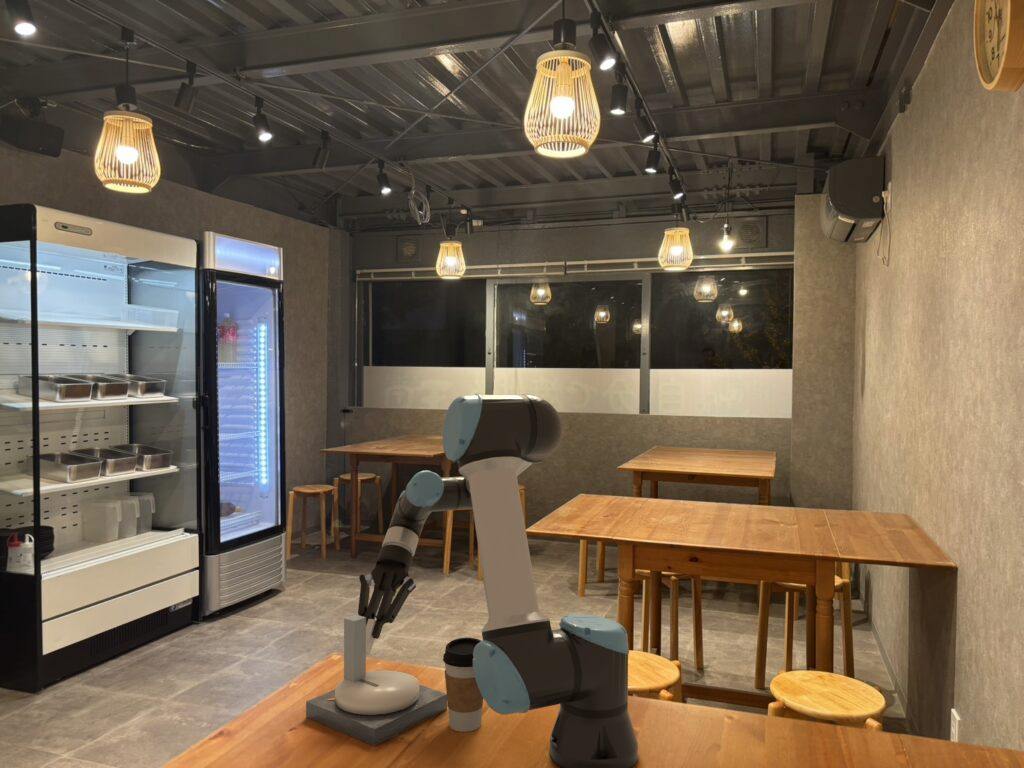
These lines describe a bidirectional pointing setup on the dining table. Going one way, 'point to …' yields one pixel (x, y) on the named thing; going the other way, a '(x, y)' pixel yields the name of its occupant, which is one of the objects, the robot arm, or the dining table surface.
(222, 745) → the dining table surface
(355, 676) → the dial
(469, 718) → the coffee cup
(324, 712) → the dial housing
